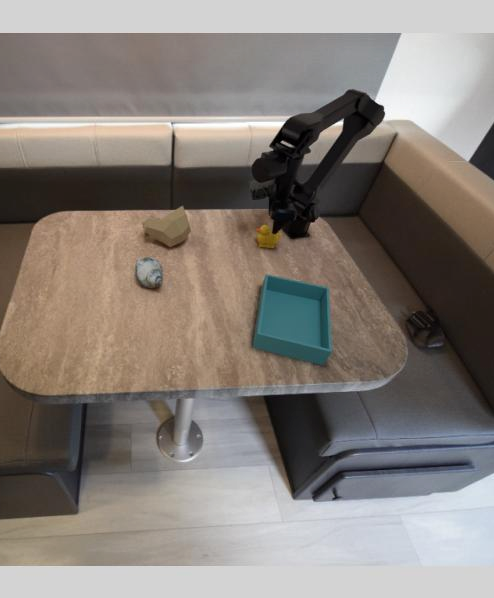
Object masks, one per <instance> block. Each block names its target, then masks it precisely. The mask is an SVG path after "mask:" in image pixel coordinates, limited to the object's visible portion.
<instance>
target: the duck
mask: <svg viewBox="0 0 494 598" xmlns="http://www.w3.org/2000/svg"><path fill="white" fill-rule="evenodd" d="M255 230H256V232H258V234H257V236H256V241H257V243H258V247H259V248H267V249H274V248H275V247H276V246H275V245H277V244H278V243H279V241H280V238H282V233H281V232H278V233H276V234H272V231H270V226H269V225H267V224H263V225H261V226H260V227H258V228H257V227H256V229H255Z"/></svg>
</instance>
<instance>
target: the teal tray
mask: <svg viewBox="0 0 494 598" xmlns="http://www.w3.org/2000/svg"><path fill="white" fill-rule="evenodd" d="M330 299H331V297H330V287H329V286H324V285H320V284H316V283H315V284H314V283H310V282H305V281H301V280H295V279H291V278H285V277H281V276H276V275H272V274H265V276H264V279H263V282H262V285H261V288H260V295H259V302H258V308H257V314H256V321H255V328H254V335H253V341H252V347H251V348H253V349H256V350H259V351H264V352H268V353H272V354H275V355H280V356H284V357H288V358H292V359H295V360H300V361H304V362H308V363H312V364H316V365H320V366H324V365H325V364H326V363H327V361H328V359H329V358H330V356H331V354H332V352H333V344H332V343H333V342H332V324H331V322H332V321H331V320H332V319H331V301H330Z"/></svg>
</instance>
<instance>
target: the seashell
mask: <svg viewBox="0 0 494 598" xmlns="http://www.w3.org/2000/svg"><path fill="white" fill-rule="evenodd" d="M135 278H136V280H137V282H138V283H139V284H140V285H141V286H142V287H143V288H147V289H154V288H156V287H158V286H161V285H162V284H163V266H162V265H161V263H160V262H159V260H158V259H156V258H155V257H152V256H145V257H143V258H137V259H136V261H135Z"/></svg>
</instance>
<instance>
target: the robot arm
mask: <svg viewBox="0 0 494 598" xmlns="http://www.w3.org/2000/svg"><path fill="white" fill-rule="evenodd" d="M385 117H386V111H385V106H384V105H383V104H380V103H378V102H376V101H375V100H374V99H373V98H371V96H370V95H369V94H368V93H367V92H364V91H361V90H358V89H355V88H350V89H348V90H346V91H345V92H344V94H342V95H340V96H339V97H336V98H335V99H332V101H330V102H328V103H327V104H325V105H323V106H321V107H319V108H318V109H316V110H314V111H311V112H302V113H297V114H295V115H292V116H290V117H288V119H286V120H285V121H284V123H283V125H282V126H281V127H280V129H279V130H278V132H277V133H276V135H274V138H273V139H272V140H271V142H270V143H269V145H268V147H269V148H270V149H272V150H269V151H263V152H261V154H260V157H258V158H256V159H255V160H254V161H253V163H252V164H251V175H252V178H253V179H254V180H252V181H250V182H249V190H250V197H251V200H252V201H260V200H263V199H266V198H268V209H267V211H268V213H267V215H268V216H269V218H270V220H272V226H271V232H272V234H276V233H280V231H281V230H283V231H284V232H285V234H286V235H287V236H288V237H289V238H290V239H292V240H293V239H301V238H306V237H307V238H308V237H310V236H311V233H310V232H308V231H309V229H310V226H311V224H314V223H316V221H317V220H318V219H319V218H320V216H321V213H322V212H321V210H320V208H319V205H320V203H321V202H322V196H323V189H324V188H325V187H326V185H328V183H329V181H330V180H331V178H332V177H333V176H334V174H335V173H336V172H337V170H338V169H339V167H340V166H341V165H342V163H343V162H344V161H345V160H346V158H347V157H348V155H349V154H350V152H351V151H352V150H353V149H354V147H355V145H357V143H358V142H359V141H360V140H363V139H364V138H366V137H368V136H370V135H371V134H372V133H373V132H374V130H375V129H376V128H377V127H379V126H380V124H382V122H383V121H384V119H385ZM340 121H342V129H341V132H340V133H339V135H338V136H337V137H336V139H335V140H334V142H333V143H332V144H331V146H330V148H329V149H328V151H327V152H326V154H325V155H324V156H323V158H322V159H321V160H320V161H319V163H318V164H317V166H316V167H315V169H314V170H313V171H312V173H311V175H310V176H309V177H308V178H307V180H305V181H303V182H302V183H301V182H300V180H299V174H300V172H301V169H302V165H303V162H304V158H305V156H306V155H307V154H311V152H312V150H311V148H310V147H311V146H312V145H313V144H314V143H316V142H317V141H318V140H319V138H320V135H321V133H322V132H324V131H325V130H328V128H330V127H332V126H334V125H335V124H337V123H339V122H340ZM283 142H284V143H283ZM285 143H286V144H285ZM287 144H288V145H287ZM289 145H290V146H289Z"/></svg>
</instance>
